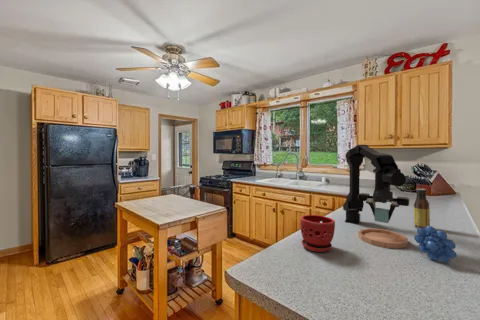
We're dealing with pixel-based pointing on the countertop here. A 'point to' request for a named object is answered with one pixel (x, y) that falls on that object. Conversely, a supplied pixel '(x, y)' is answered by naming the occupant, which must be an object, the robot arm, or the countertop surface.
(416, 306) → the countertop surface
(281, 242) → the countertop surface
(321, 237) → the plant pot
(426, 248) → the grapes
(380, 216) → the block
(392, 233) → the dish
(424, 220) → the sauce bottle
